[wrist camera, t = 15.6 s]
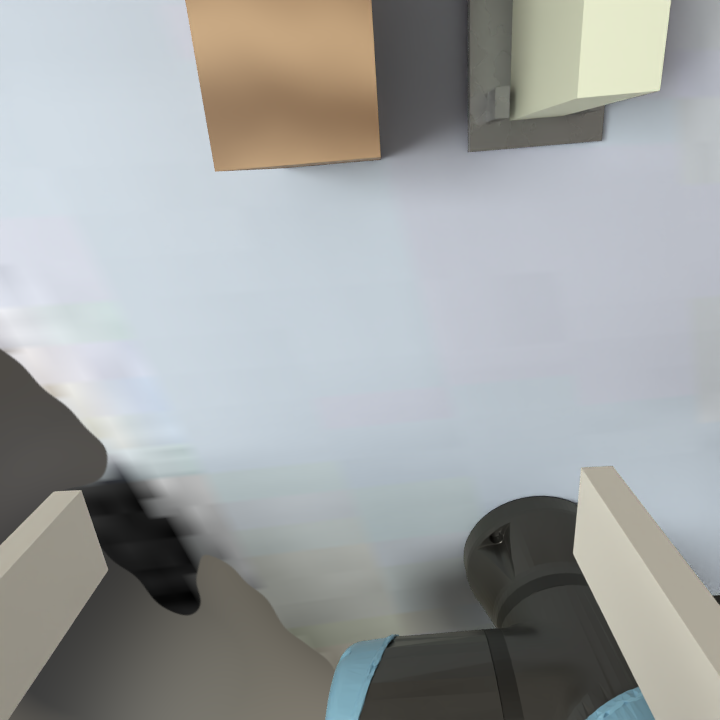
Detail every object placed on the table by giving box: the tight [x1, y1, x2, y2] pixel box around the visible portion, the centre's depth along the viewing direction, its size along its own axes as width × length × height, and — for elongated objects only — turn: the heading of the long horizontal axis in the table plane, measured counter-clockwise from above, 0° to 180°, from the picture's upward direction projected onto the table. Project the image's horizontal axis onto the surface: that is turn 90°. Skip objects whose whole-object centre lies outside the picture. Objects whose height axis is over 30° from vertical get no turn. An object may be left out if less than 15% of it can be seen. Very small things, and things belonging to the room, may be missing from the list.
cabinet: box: [185, 0, 381, 171], centre depth 29 cm, size 16×8×18 cm, turn 5°
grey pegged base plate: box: [468, 0, 605, 152], centre depth 35 cm, size 16×10×4 cm, turn 5°
